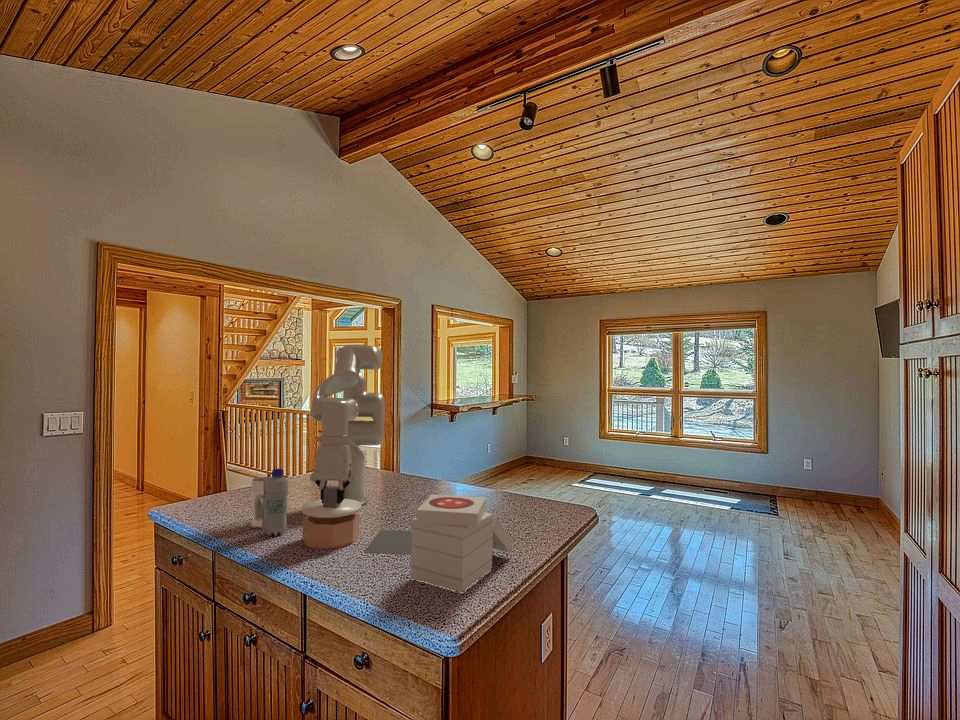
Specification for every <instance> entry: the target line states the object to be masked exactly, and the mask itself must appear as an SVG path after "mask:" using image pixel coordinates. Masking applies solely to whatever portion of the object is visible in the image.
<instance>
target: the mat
mask: <svg viewBox="0 0 960 720" xmlns="http://www.w3.org/2000/svg"><path fill="white" fill-rule="evenodd" d="M411 546H412V530H400V529H399V530H396V529H395V530H394V529H380V530H379V531H378V533H377V534H376V535H375V537H374V538H373V539H372V540H371V542H369V544H368V546H367V547H366V548H365V549H364V550H363V553H364V554H385V555H386V554H387V555H389V554H390V555H406V556H407V555H409V556H411Z"/></svg>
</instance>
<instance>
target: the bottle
mask: <svg viewBox="0 0 960 720" xmlns="http://www.w3.org/2000/svg"><path fill="white" fill-rule="evenodd" d="M288 482H289V481H288V478H287V477H284V469H283V468H274V469H272V471H271V478H270V479H268V480H267V483H266V488H265V495H266V517H265V527H264V528H263V529H264V534H266V535H267V536H269V537H271V536H272V535H273V536H274V537H278V534H279V535H280V536H281V535H283V534H284V533H285V532H286V530H287V526H288V522H287V505H288V502H287V501H288V494H289V483H288Z"/></svg>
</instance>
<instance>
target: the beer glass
mask: <svg viewBox="0 0 960 720" xmlns="http://www.w3.org/2000/svg"><path fill="white" fill-rule="evenodd" d="M271 477H272V476H271ZM271 477H270V476H260V477H255V478H252V479H251V489H250V502H251V508H252V521H251V524H250V525H251V526H250V527H251V528H252V527H253V529H264V527H265V517H266V495H265V488H266V483H267V480H268V479H270V478H271Z"/></svg>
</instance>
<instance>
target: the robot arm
mask: <svg viewBox="0 0 960 720" xmlns="http://www.w3.org/2000/svg"><path fill="white" fill-rule="evenodd" d="M383 356H384V355H383V352H382V349H381V348H380V347H377V346H375V345H367V344H366V345H364V344H362V345H361V344H347V345H344V346H342V347H339V348H338V349H337V350H336V355H335V358H336V362H335V367H334V370H333V374H332V375H330V376H328V377H326V379H324V380H323V381H322V382H321V383H319V385H317V387H316V389H315V392H314V395H313V398H312V402H311V407H310V415H311V417H312V419H313V420H315V422H316V421H317V422H321V435H320V436H317V437H316V442H320V445H318V446H317V449H316V453H315V460H314V469H313V472H312V473H311V474H310V476H309V480H311V481H312V482H313V483H315V484H316V486H317V487H318V489H319V490H320V500H322V503H323V496H324V488H326V487H327V485H328V481H336V482H338V485H337V486H339V490H338V496H337V503H338V504H340V503H341V502H343V500H344V499H352V500H356V501H359V502H360V503H361V507H362V506H364V505H366V504H367V503H368V498H367V497H366V496H364V491H365V466H366V465H365V454H364V452H363V451H362V449H361V448H360V446H380V445H382V444H383V443H384V439H385V423H386V422H385V420H386V419H385V417H386V413H385V412H386V403H385V402H386V401H385V397H384V395H383V394H381V393H380V392H379V393H378V392H367V378H366V377H365V375H364V374H363V373H362V371H361V370H375V371H377V370H380V369H381V367H382V365H383V362H384V357H383ZM341 392H343V395H342V397H330V396H332V395H335V394H338V393H341ZM357 418H371V419H372V420H362V419H361V420H356V419H357Z"/></svg>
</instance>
